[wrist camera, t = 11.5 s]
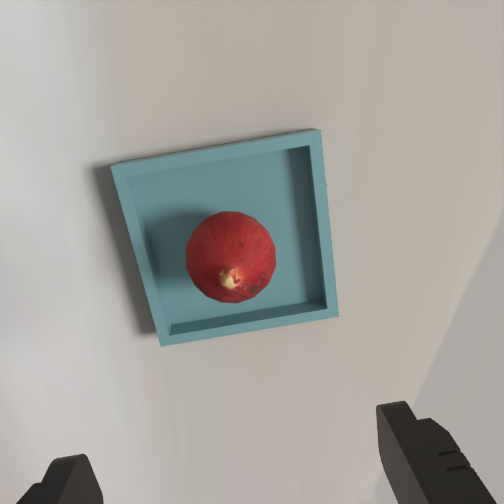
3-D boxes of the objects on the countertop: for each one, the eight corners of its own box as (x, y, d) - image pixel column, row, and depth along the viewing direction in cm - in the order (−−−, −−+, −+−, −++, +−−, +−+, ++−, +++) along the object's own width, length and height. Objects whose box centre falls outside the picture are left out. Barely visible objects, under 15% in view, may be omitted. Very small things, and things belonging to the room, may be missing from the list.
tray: (119, 162, 28) (110, 166, 26) (313, 128, 28) (320, 130, 25) (165, 331, 32) (160, 346, 30) (331, 303, 32) (338, 316, 30)
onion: (286, 239, 30) (306, 284, 22) (231, 290, 31) (232, 349, 23) (230, 183, 28) (230, 211, 20) (174, 239, 29) (155, 285, 22)
